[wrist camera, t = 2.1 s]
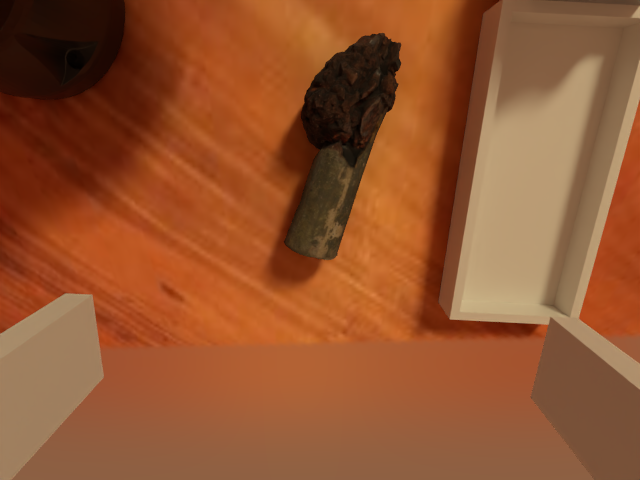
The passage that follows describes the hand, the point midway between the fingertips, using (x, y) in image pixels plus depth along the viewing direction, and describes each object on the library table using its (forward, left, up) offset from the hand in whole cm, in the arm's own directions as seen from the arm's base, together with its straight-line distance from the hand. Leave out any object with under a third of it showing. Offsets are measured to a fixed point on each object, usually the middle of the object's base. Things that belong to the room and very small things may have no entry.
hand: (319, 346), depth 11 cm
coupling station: (+18, +3, -24) cm, 30 cm away
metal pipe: (0, -1, -27) cm, 27 cm away
